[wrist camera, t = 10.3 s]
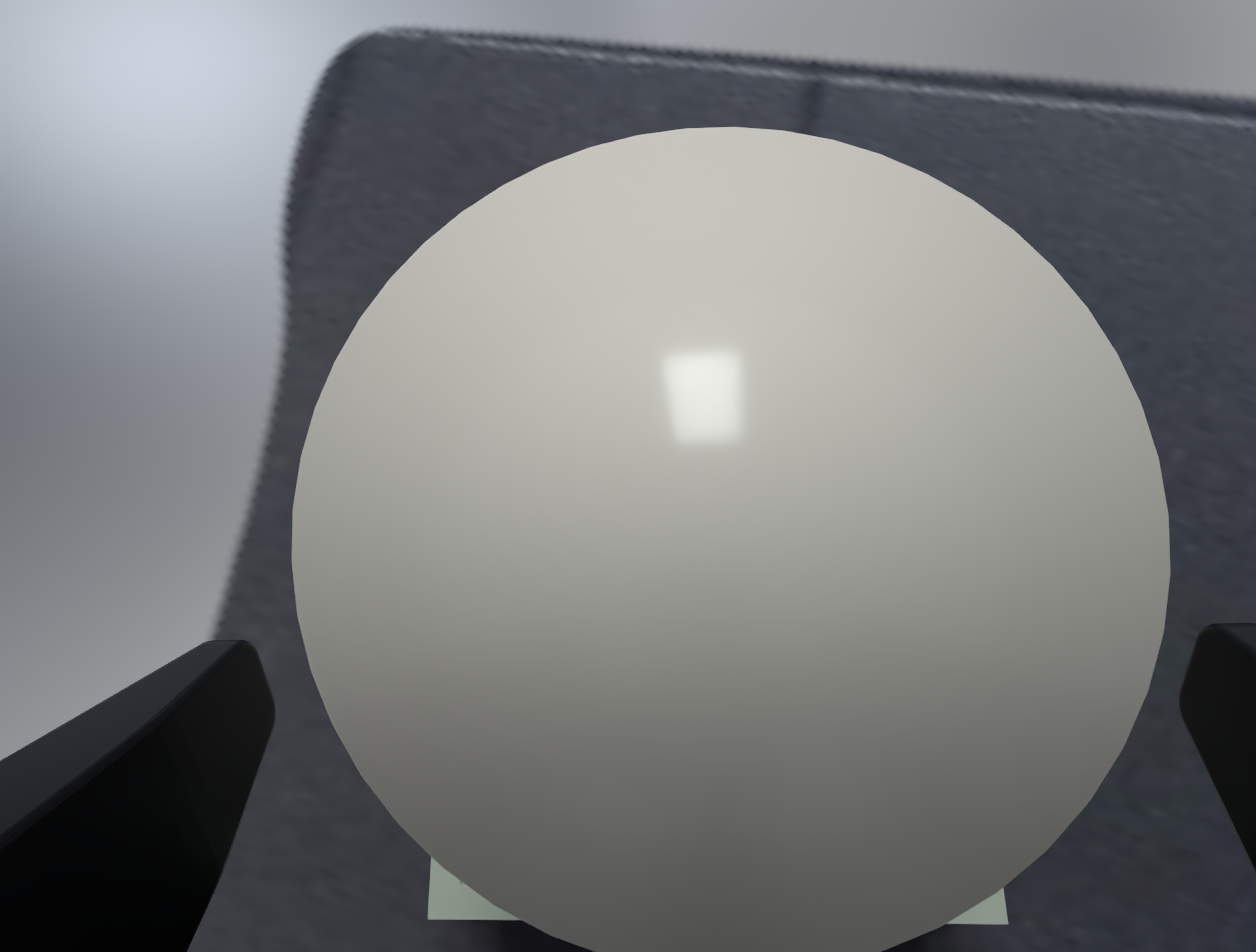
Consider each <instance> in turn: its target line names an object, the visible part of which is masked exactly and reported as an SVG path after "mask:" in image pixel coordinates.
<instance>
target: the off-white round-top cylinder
mask: <svg viewBox="0 0 1256 952" xmlns="http://www.w3.org/2000/svg"><path fill="white" fill-rule="evenodd" d="M292 570H293V579H294V589H295V598H296V607H297V616H298V620H299V624H300V628H301V633H302V637H303V641H304V645H305V649H306V653H307V657H308V661H309V665H310V669H311V672H312V675H313V677H314V680H315V682H316V685H317V687H318V690H319V692H320V695H321V697H322V700H323V703H324V705H325V708H326V710H327V713H328V715H329V718H330V720H331V723H332V725H333V727H334V728H335V730H336V732H337V734H338V736H339V737H340V739H341V741H342V743H343V744H344V746H345V748H346V750H347V751H348V753H349V755H350V757H351V759H352V760H353V762H354V764H355V766H356V767H357V769H358V771H359V773H360V774H361V776H362V777H363V779H364V780H365V781H366V783H367V784H368V785H369V786H370V788H371V789H372V790H373V792H374V793H375V794H376V796H377V797H378V798H379V800H380V801H381V802H382V803H383V805H384V806H385V807H386V809H387V810H388V811H389V813H390V814H391V815H392V816H393V818H394V819H395V820H396V822H397V823H398V824H399V825H400V826H401V827H402V828H403V829H404V830H405V831H406V832H407V833H408V834H409V835H410V836H411V837H412V838H413V839H414V840H415V841H416V842H417V843H418V844H419V845H420V846H421V847H422V848H423V849H424V850H425V851H426V852H427V853H428V854H429V855H430V856H431V857H432V858H433V859H434V860H435V861H436V862H438V863H439V864H440V865H441V866H442V867H443V868H444V869H445V870H447V871H448V872H449V873H451V874H452V875H454V876H455V877H456V878H458V879H459V880H460V881H462V882H463V883H464V884H466V885H467V886H468V887H470V888H471V889H473V890H474V891H475V892H477V893H478V894H479V895H481V896H482V897H483V898H485V899H486V900H487V901H489V902H490V903H492V904H493V905H494V906H496V907H498V908H500V909H502V910H504V911H506V912H508V913H509V914H511V915H513V916H515V917H517V918H519V919H521V920H522V921H524V922H526V923H528V924H530V925H532V926H534V927H536V928H537V929H539V930H541V931H543V932H545V933H547V934H549V935H550V936H553V937H556V938H559V939H561V940H564V941H567V942H570V943H572V944H575V945H578V946H581V947H583V948H586V949H589V950H592V951H594V952H882V951H884V950H887V949H889V948H891V947H894V946H896V945H899V944H901V943H903V942H906V941H908V940H911V939H913V938H915V937H918V936H920V935H923V934H925V933H927V932H930V931H932V930H935V929H937V928H939V927H941V926H943V925H945V924H946V923H948V922H950V921H951V920H953V919H954V918H956V917H958V916H959V915H961V914H963V913H964V912H966V911H968V910H969V909H971V908H972V907H974V906H976V905H977V904H979V903H981V902H982V901H984V900H986V899H987V898H989V897H991V896H992V895H994V894H995V893H997V892H998V891H999V890H1001V889H1002V888H1003V887H1004V886H1005V885H1007V884H1008V883H1009V882H1010V881H1011V880H1013V879H1014V878H1015V877H1016V876H1017V875H1018V874H1020V873H1021V872H1022V871H1023V870H1024V869H1026V868H1027V867H1028V866H1029V865H1030V864H1031V863H1033V862H1034V861H1035V860H1036V859H1037V858H1039V857H1040V856H1041V855H1042V854H1043V853H1045V852H1046V851H1047V850H1048V849H1049V848H1050V846H1051V845H1052V844H1053V843H1054V842H1055V841H1056V840H1057V838H1058V837H1059V836H1060V835H1061V834H1062V833H1063V832H1064V830H1065V829H1066V828H1067V827H1068V826H1069V825H1070V823H1071V822H1072V821H1073V820H1074V819H1075V818H1076V817H1077V815H1078V814H1079V813H1080V812H1081V811H1082V810H1083V809H1084V807H1085V806H1086V805H1087V804H1088V803H1089V802H1090V800H1091V798H1092V797H1093V795H1094V794H1095V792H1096V791H1097V789H1098V787H1099V786H1100V784H1101V783H1102V781H1103V779H1104V778H1105V776H1106V775H1107V773H1108V772H1109V770H1110V768H1111V767H1112V765H1113V764H1114V762H1115V760H1116V759H1117V757H1118V756H1119V754H1120V752H1121V751H1122V749H1123V748H1124V745H1125V743H1126V741H1127V738H1128V736H1129V734H1130V731H1131V729H1132V727H1133V725H1134V722H1135V720H1136V718H1137V715H1138V713H1139V711H1140V708H1141V706H1142V704H1143V702H1144V699H1145V697H1146V695H1147V692H1148V689H1149V686H1150V682H1151V678H1152V674H1153V671H1154V667H1155V663H1156V659H1157V656H1158V652H1159V648H1160V644H1161V641H1162V637H1163V633H1164V625H1165V616H1166V607H1167V598H1168V589H1169V580H1170V548H1169V517H1168V509H1167V504H1166V498H1165V492H1164V487H1163V481H1162V475H1161V469H1160V464H1159V458H1158V455H1157V452H1156V449H1155V446H1154V442H1153V439H1152V436H1151V433H1150V430H1149V427H1148V424H1147V421H1146V418H1145V414H1144V411H1143V408H1142V405H1141V403H1140V401H1139V398H1138V396H1137V394H1136V392H1135V390H1134V388H1133V386H1132V384H1131V382H1130V380H1129V377H1128V375H1127V373H1126V371H1125V369H1124V367H1123V365H1122V363H1121V361H1120V359H1119V356H1118V354H1117V353H1116V351H1115V350H1114V348H1113V346H1112V345H1111V343H1110V342H1109V340H1108V339H1107V337H1106V336H1105V334H1104V333H1103V331H1102V329H1101V328H1100V326H1099V325H1098V323H1097V322H1096V320H1095V319H1094V317H1093V315H1092V314H1091V312H1090V311H1089V309H1088V308H1087V307H1086V305H1085V304H1084V303H1083V302H1082V301H1081V299H1080V298H1079V297H1078V296H1077V295H1076V294H1075V292H1074V291H1073V290H1072V289H1071V288H1070V286H1069V285H1068V284H1067V283H1066V282H1065V280H1064V279H1063V278H1062V277H1061V276H1060V274H1059V273H1058V272H1057V271H1056V270H1055V269H1054V267H1053V266H1052V265H1051V264H1050V263H1048V262H1047V261H1046V260H1045V259H1044V258H1043V257H1042V256H1041V255H1040V254H1039V253H1038V252H1037V251H1036V250H1035V249H1033V248H1032V247H1031V246H1030V245H1029V244H1028V243H1027V242H1026V241H1025V240H1024V239H1023V238H1022V237H1021V236H1020V235H1018V234H1017V233H1016V232H1015V231H1014V230H1013V229H1011V228H1010V227H1009V226H1007V225H1006V224H1005V223H1003V222H1002V221H1000V220H999V219H998V218H996V217H995V216H994V215H992V214H991V213H990V212H988V211H987V210H985V209H984V208H983V207H981V206H980V205H979V204H977V203H976V202H975V201H973V200H972V199H970V198H968V197H966V196H965V195H963V194H961V193H959V192H958V191H956V190H954V189H952V188H951V187H949V186H947V185H945V184H944V183H942V182H940V181H938V180H937V179H935V178H933V177H931V176H930V175H928V174H925V173H923V172H921V171H918V170H916V169H914V168H911V167H909V166H907V165H904V164H902V163H900V162H897V161H895V160H893V159H890V158H888V157H886V156H883V155H881V154H878V153H875V152H871V151H868V150H865V149H861V148H858V147H855V146H851V145H848V144H845V143H842V142H838V141H835V140H831V139H826V138H820V137H815V136H809V135H804V134H799V133H793V132H788V131H781V130H768V129H755V128H741V127H718V128H688V129H679V130H672V131H665V132H658V133H651V134H644V135H637V136H633V137H629V138H625V139H621V140H617V141H613V142H609V143H605V144H601V145H597V146H593V147H590V148H587V149H584V150H582V151H579V152H576V153H574V154H571V155H568V156H566V157H563V158H560V159H558V160H555V161H552V162H550V163H547V164H544V165H542V166H540V167H538V168H536V169H534V170H532V171H530V172H529V173H527V174H525V175H523V176H521V177H519V178H517V179H515V180H513V181H511V182H509V183H507V184H505V185H503V186H501V187H499V188H498V189H496V190H495V191H493V192H492V193H490V194H489V195H487V196H486V197H484V198H483V199H481V200H480V201H478V202H476V203H475V204H473V205H472V206H470V207H469V208H467V209H466V210H464V211H463V212H461V213H460V214H459V215H458V216H456V217H455V218H454V219H453V220H451V221H450V222H449V223H448V224H447V225H445V226H444V227H443V228H442V229H441V230H439V231H438V232H437V233H436V234H435V235H433V236H432V237H431V238H430V239H429V240H427V241H426V242H425V243H424V244H423V245H422V246H421V247H420V248H419V249H418V250H417V251H416V252H415V253H414V254H413V255H412V256H411V257H410V258H409V259H408V260H407V261H406V262H405V264H404V265H403V266H402V267H401V268H400V269H399V270H398V271H397V272H396V273H395V274H394V275H393V276H392V277H391V278H390V279H389V281H388V282H387V283H386V285H385V286H384V287H383V289H382V290H381V291H380V293H379V294H378V295H377V296H376V298H375V299H374V300H373V302H372V303H371V304H370V306H369V307H368V308H367V310H366V311H365V312H364V314H363V315H362V316H361V318H360V319H359V321H358V323H357V324H356V326H355V328H354V330H353V331H352V333H351V335H350V336H349V338H348V340H347V342H346V343H345V345H344V347H343V348H342V350H341V352H340V354H339V355H338V357H337V359H336V360H335V363H334V365H333V367H332V370H331V372H330V374H329V377H328V379H327V381H326V383H325V386H324V388H323V390H322V393H321V395H320V397H319V400H318V402H317V404H316V407H315V410H314V413H313V417H312V420H311V424H310V427H309V431H308V434H307V438H306V441H305V444H304V448H303V451H302V455H301V460H300V466H299V473H298V479H297V485H296V492H295V498H294V505H293V526H292Z"/></svg>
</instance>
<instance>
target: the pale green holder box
mask: <svg viewBox="0 0 1256 952" xmlns="http://www.w3.org/2000/svg"><path fill="white" fill-rule="evenodd" d="M428 919H451V920H521V919H519V918H517V917H515V916H513V915H511V914H509V913H508V912H506V911H504V910H502V909H500V908H498V907H496V906H494V905H493V904H492V903H490V902H489V901H487V900H486V899H485V898H483V897H482V896H481V895H479V894H478V893H477V892H475V891H474V890H473V889H471V888H470V887H468V886H467V885H466V884H464V883H463V882H462V881H460V880H459V879H458V878H456V877H455V876H454V875H452V874H451V873H449V872H448V871H447V870H445V869H444V868H443V867H442V866H441V865H440V864H439V863H438V862H436V861H435V860H434V859H433V858H432V857H431V871H430V888H429V905H428ZM946 924H1008V919H1007V912H1006V904H1005V897H1004V889H1003V888H1002V889H1001V890H999V891H998V892H997V893H995V894H994V895H992V896H991V897H989V898H987V899H986V900H984V901H982V902H981V903H979V904H977V905H976V906H974V907H972V908H971V909H969V910H968V911H966V912H964V913H963V914H961V915H959V916H958V917H956V918H954V919H953V920H951V921H950V922H948V923H946Z"/></svg>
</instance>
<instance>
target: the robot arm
mask: <svg viewBox="0 0 1256 952" xmlns="http://www.w3.org/2000/svg"><path fill="white" fill-rule="evenodd" d="M1179 709H1180V713H1181V717H1182V719H1183V722H1184V724H1185V726H1186V728H1187V730H1188V732H1189V735H1190V737H1191V739H1192V741H1193V743H1194V745H1195V747H1196V749H1197V752H1198V754H1199V756H1200V758H1201V760H1202V762H1203V764H1204V766H1205V768H1206V771H1207V773H1208V775H1209V777H1210V779H1211V781H1212V783H1213V785H1214V787H1215V790H1216V792H1217V794H1218V796H1219V798H1220V800H1221V802H1222V804H1223V807H1224V809H1225V811H1226V813H1227V815H1228V817H1229V819H1230V821H1231V823H1232V826H1233V828H1234V830H1235V832H1236V834H1237V836H1238V838H1239V840H1240V842H1241V845H1242V847H1243V849H1244V851H1245V853H1246V855H1247V857H1248V859H1249V861H1250V863H1251V865H1252V867H1253V868H1254V870H1255V872H1256V624H1254V623H1219V624H1211V625H1208V626H1206V627H1205V628H1203V630H1202V631H1201V632H1200V633H1199V635H1198V637H1197V639H1196V642H1195V645H1194V648H1193V651H1192V654H1191V657H1190V660H1189V663H1188V667H1187V670H1186V673H1185V676H1184V679H1183V682H1182V685H1181V688H1180V692H1179ZM275 715H276V709H275V702H274V698H273V695H272V692H271V689H270V686H269V684H268V681H267V678H266V675H265V672H264V669H263V666H262V663H261V660H260V657H259V655H258V652H257V650H256V648H255V647H254V646H253V645H252V644H251V643H250V642H248V641H245V640H213V641H208V642H205V643H202V644H201V645H199V646H197V647H195V648H194V649H192V650H190V651H189V652H187V653H185V654H183V655H182V656H180V657H178V658H177V659H175V660H173V661H171V662H170V663H168V664H166V665H164V666H163V667H161V668H159V669H158V670H156V671H154V672H153V673H151V674H149V675H147V676H145V677H144V678H142V679H140V680H139V681H137V682H135V683H133V684H132V685H130V686H128V687H127V688H125V689H123V690H121V691H120V692H118V693H116V694H115V695H113V696H111V697H110V698H108V699H106V700H104V701H103V702H101V703H99V704H97V705H96V706H94V707H92V708H90V709H89V710H87V711H85V712H84V713H82V714H80V715H78V716H77V717H75V718H73V719H72V720H70V721H68V722H66V723H65V724H63V725H61V726H59V727H58V728H56V729H55V730H53V731H51V732H49V733H47V734H46V735H44V736H42V737H41V738H39V739H37V740H36V741H34V742H32V743H30V744H29V745H27V746H25V747H23V748H22V749H20V750H18V751H17V752H15V753H13V754H11V755H10V756H8V757H6V758H4V759H3V760H1V761H0V952H187V950H188V948H189V945H190V943H191V941H192V939H193V937H194V935H195V932H196V930H197V928H198V926H199V924H200V922H201V919H202V917H203V915H204V913H205V911H206V909H207V906H208V904H209V902H210V900H211V898H212V895H213V893H214V891H215V889H216V886H217V884H218V882H219V879H220V877H221V875H222V872H223V870H224V867H225V865H226V862H227V859H228V857H229V854H230V851H231V849H232V846H233V843H234V840H235V837H236V835H237V832H238V829H239V826H240V823H241V820H242V817H243V814H244V811H245V809H246V806H247V803H248V800H249V797H250V794H251V791H252V788H253V785H254V783H255V780H256V777H257V774H258V771H259V768H260V765H261V762H262V759H263V757H264V754H265V751H266V748H267V745H268V742H269V739H270V736H271V733H272V731H273V727H274V723H275Z"/></svg>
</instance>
